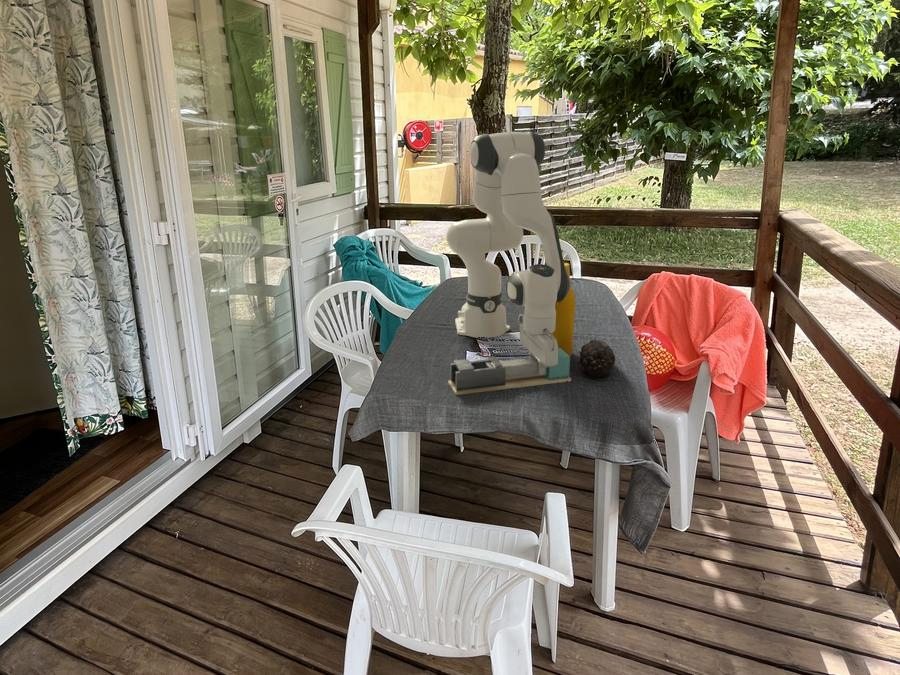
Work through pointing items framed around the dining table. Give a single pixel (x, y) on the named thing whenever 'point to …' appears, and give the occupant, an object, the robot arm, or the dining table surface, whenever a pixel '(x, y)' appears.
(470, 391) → the board
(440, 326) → the dining table surface
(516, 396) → the dining table surface
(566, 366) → the teal cube
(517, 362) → the slip tube
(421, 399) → the dining table surface
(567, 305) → the beer bottle
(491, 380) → the sleeve
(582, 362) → the pine cone
